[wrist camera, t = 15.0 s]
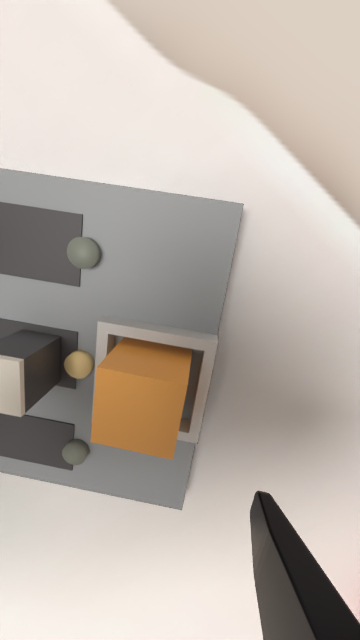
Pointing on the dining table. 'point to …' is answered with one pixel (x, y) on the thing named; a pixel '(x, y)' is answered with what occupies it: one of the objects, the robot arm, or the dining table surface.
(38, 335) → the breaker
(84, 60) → the dining table surface
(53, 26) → the dining table surface
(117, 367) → the orange cube
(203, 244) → the panel
